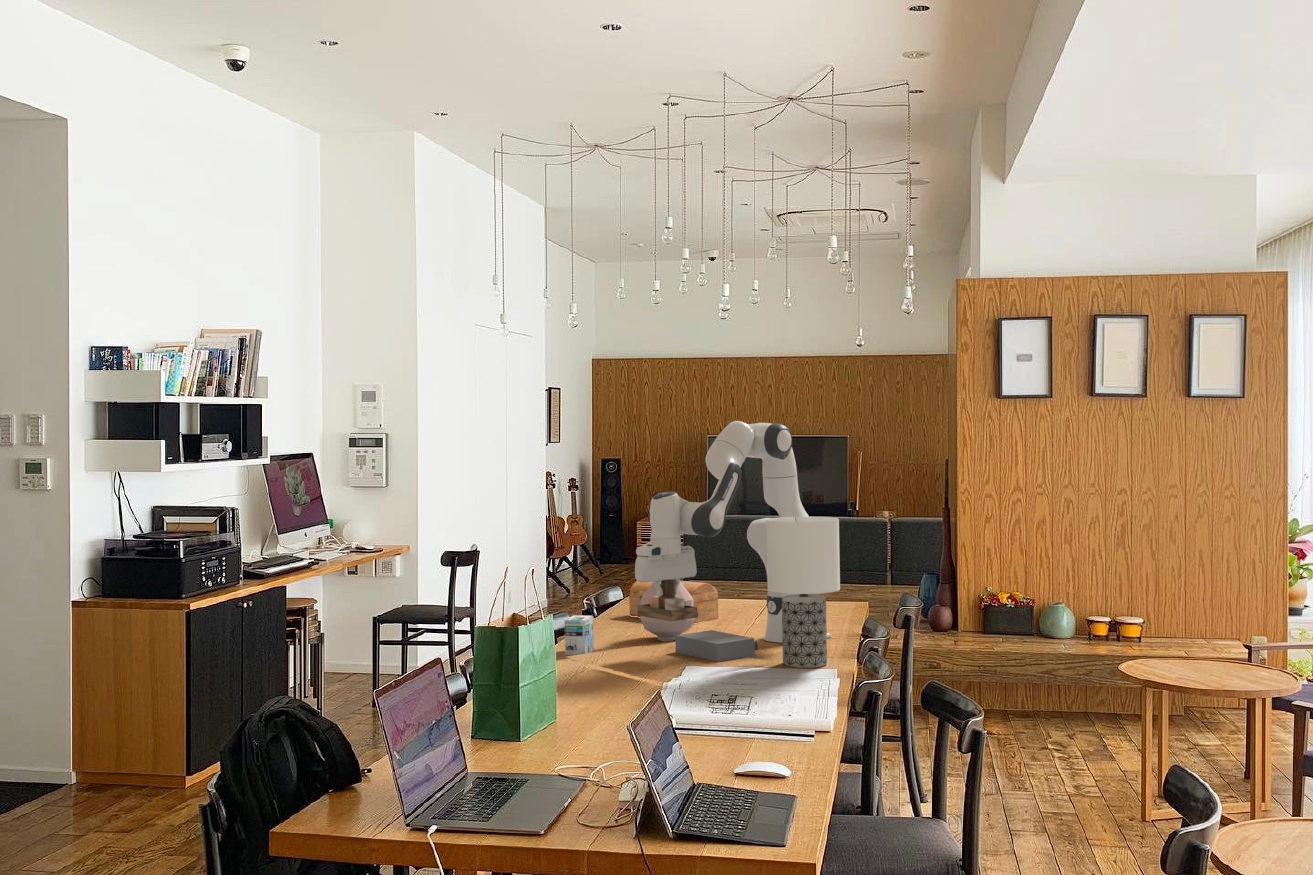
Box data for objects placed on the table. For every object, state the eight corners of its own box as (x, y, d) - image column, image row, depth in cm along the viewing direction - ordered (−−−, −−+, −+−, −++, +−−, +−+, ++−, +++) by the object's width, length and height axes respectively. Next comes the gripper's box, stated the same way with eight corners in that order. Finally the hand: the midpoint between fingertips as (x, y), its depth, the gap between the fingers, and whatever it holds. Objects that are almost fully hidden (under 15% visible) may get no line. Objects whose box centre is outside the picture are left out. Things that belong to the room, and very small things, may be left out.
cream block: (676, 611, 342) (675, 597, 342) (684, 612, 339) (684, 598, 339) (665, 612, 340) (664, 598, 340) (673, 614, 336) (673, 600, 336)
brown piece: (664, 611, 352) (663, 576, 351) (697, 617, 339) (697, 581, 339) (637, 615, 346) (636, 579, 346) (670, 621, 333) (669, 584, 333)
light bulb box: (585, 655, 356) (585, 620, 356) (564, 655, 357) (563, 619, 357) (594, 649, 366) (593, 614, 366) (573, 649, 368) (573, 614, 368)
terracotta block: (661, 608, 348) (660, 594, 348) (669, 609, 345) (668, 596, 345) (650, 609, 345) (649, 596, 345) (658, 611, 342) (658, 597, 342)
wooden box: (721, 619, 424) (720, 580, 424) (692, 625, 412) (691, 585, 412) (658, 612, 444) (657, 575, 444) (628, 617, 431) (628, 580, 432)
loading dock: (714, 649, 363) (714, 629, 363) (757, 658, 347) (757, 637, 347) (675, 655, 354) (675, 635, 354) (717, 664, 338) (717, 643, 338)
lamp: (848, 669, 327) (846, 520, 327) (775, 672, 325) (772, 522, 325) (832, 656, 347) (830, 515, 347) (763, 658, 346) (761, 517, 346)
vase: (673, 645, 370) (671, 550, 370) (629, 640, 380) (628, 548, 380) (705, 637, 384) (703, 546, 384) (662, 633, 394) (660, 544, 394)
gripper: (687, 544, 351) (688, 590, 351) (631, 549, 339) (632, 597, 339) (700, 545, 346) (701, 592, 346) (644, 551, 334) (645, 599, 334)
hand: (666, 595), depth 342 cm, fingers closed on brown piece, 3 cm apart
